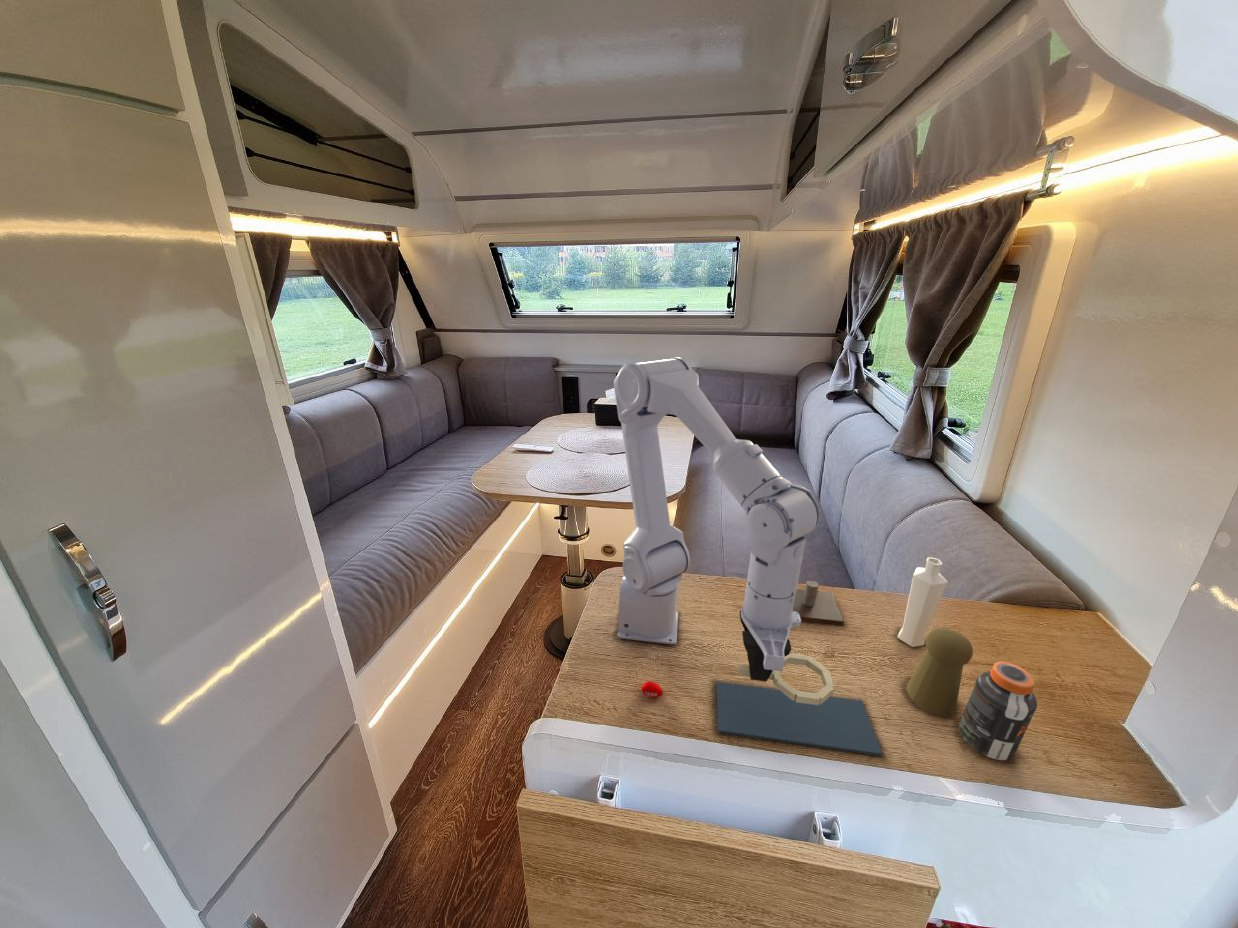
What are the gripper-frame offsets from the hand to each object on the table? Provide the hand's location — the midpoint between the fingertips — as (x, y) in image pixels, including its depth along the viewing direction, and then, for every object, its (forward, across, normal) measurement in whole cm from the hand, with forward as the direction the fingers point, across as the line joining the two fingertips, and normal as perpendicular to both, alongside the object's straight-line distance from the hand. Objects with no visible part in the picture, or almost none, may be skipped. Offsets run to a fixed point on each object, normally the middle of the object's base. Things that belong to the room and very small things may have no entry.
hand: (757, 670), depth 62 cm
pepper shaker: (+7, +6, -25) cm, 27 cm away
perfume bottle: (+7, +18, -27) cm, 34 cm away
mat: (+7, 0, -5) cm, 9 cm away
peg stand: (+7, +24, -10) cm, 27 cm away
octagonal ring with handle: (+1, 0, -3) cm, 3 cm away
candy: (+7, 0, +14) cm, 15 cm away
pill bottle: (+7, 0, -29) cm, 30 cm away
